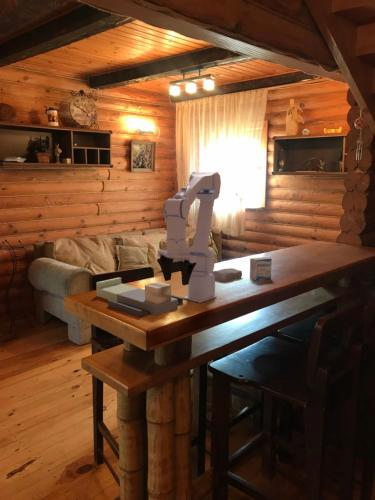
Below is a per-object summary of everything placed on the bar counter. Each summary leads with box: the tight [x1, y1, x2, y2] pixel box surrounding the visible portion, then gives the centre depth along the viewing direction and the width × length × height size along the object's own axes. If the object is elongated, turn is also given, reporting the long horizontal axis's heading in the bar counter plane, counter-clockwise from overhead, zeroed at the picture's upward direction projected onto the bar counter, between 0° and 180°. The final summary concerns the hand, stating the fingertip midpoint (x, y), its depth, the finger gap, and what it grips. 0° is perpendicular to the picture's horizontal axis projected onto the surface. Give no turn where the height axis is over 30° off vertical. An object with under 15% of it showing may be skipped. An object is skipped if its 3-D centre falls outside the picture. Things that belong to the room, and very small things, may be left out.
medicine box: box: [249, 256, 273, 281], centre depth 178 cm, size 8×4×9 cm, turn 115°
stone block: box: [212, 267, 243, 283], centre depth 180 cm, size 12×5×10 cm
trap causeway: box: [95, 277, 184, 318], centre depth 147 cm, size 19×30×5 cm, turn 47°
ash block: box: [144, 281, 172, 304], centre depth 139 cm, size 6×6×5 cm
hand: (176, 282), depth 132 cm, fingers open, 7 cm apart
